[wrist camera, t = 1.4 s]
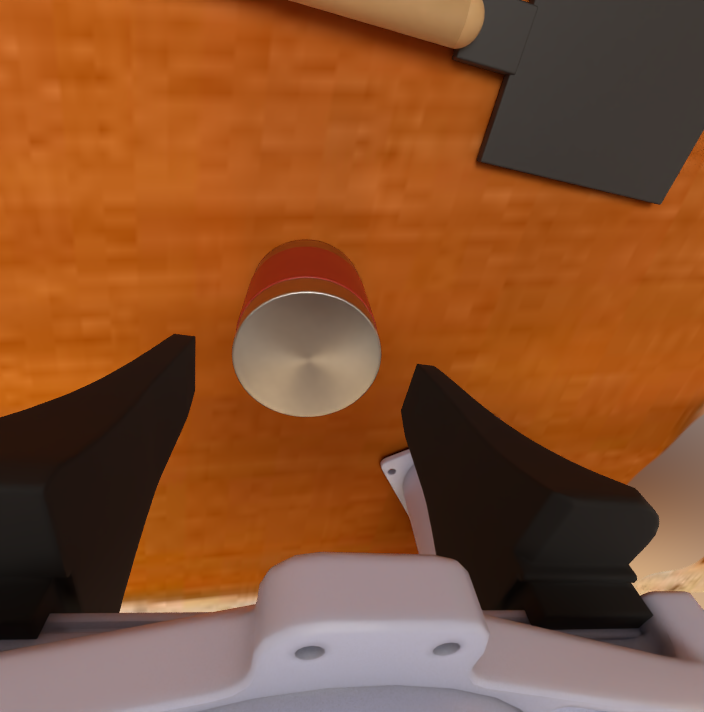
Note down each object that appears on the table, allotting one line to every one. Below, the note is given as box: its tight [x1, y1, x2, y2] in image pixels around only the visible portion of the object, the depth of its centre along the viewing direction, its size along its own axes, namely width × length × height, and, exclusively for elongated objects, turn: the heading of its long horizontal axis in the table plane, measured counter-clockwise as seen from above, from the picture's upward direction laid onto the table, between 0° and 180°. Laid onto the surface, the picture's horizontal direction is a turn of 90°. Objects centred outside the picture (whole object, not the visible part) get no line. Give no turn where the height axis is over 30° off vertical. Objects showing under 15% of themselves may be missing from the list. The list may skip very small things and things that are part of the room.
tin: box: [232, 240, 381, 417], centre depth 16 cm, size 5×5×6 cm
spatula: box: [290, 0, 704, 204], centre depth 13 cm, size 24×8×2 cm, turn 78°
